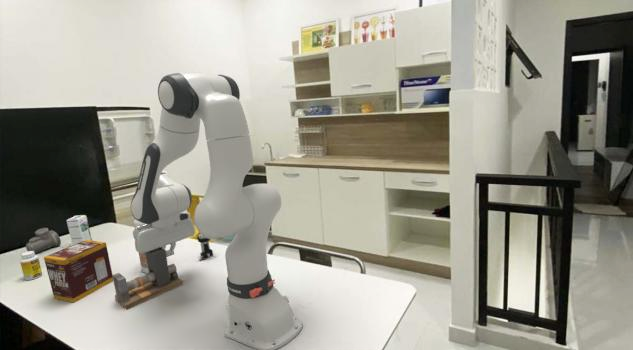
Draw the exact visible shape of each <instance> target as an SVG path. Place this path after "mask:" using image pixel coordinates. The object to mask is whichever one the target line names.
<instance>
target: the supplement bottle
mask: <svg viewBox="0 0 633 350" xmlns="http://www.w3.org/2000/svg"><path fill="white" fill-rule="evenodd" d="M19 263H20V267H21V271H22V274H23V277H24V280H25V281H31V280H35V279H37V278H40V277H41V276H42V275H43V271H42V267H41V263H40V258H39V255H36V254H35V253H34V251H26V252H22V253H21V259H20V260H19Z"/></svg>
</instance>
